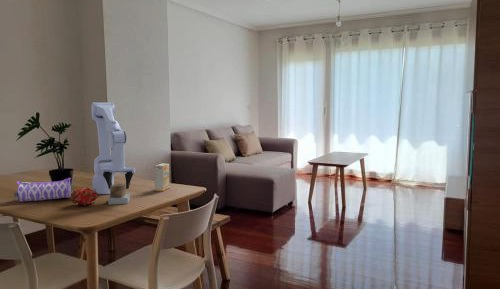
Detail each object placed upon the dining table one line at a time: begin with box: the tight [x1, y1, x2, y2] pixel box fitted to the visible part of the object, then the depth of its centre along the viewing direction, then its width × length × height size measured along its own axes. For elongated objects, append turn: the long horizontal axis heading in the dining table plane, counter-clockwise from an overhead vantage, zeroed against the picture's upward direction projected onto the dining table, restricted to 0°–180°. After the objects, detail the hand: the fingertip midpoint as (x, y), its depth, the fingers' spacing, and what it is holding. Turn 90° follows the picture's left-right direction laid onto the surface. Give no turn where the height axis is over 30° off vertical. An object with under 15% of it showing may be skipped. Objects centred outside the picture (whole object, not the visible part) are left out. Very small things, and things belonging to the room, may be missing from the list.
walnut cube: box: [109, 183, 127, 198], centre depth 165 cm, size 5×5×5 cm
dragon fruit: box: [69, 186, 100, 207], centre depth 160 cm, size 8×8×12 cm
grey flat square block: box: [107, 193, 131, 205], centre depth 165 cm, size 8×8×3 cm
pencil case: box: [13, 177, 72, 203], centre depth 168 cm, size 22×9×10 cm, turn 111°
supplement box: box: [154, 163, 171, 192], centre depth 189 cm, size 8×5×13 cm, turn 169°
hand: (118, 188), depth 165 cm, fingers open, 7 cm apart
